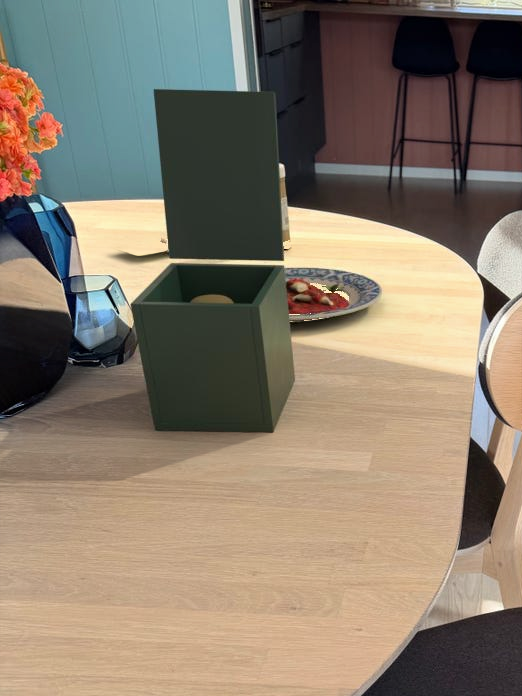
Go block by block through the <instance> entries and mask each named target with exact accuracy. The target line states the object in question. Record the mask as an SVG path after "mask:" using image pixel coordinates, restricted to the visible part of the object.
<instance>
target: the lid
mask: <svg viewBox="0 0 522 696" xmlns="http://www.w3.org/2000/svg"><path fill="white" fill-rule="evenodd" d="M276 98H277V96H276V93H275V92H274V91H257V90H256V91H254V90H253V91H251V90H250V91H249V90H248V91H247V90H212V89H211V90H208V89H174V88H173V89H170V88H169V89H168V88H153V99H154V100H153V101H154V110H155V119H156V120H155V123H156V132H157V143H158V152H159V162H160V163H159V164H160V174H161V184H162V195H163V206H164V217H165V227H166V238H167V239H168V250H169V251H168V258H169V259H170V260H206V261H207V260H208V261H210V260H214V261H257V262H258V261H259V262H261V261H262V262H263V261H264V262H285V250H284V246H283V227H282V208H281V189H280V171H279V163H280V154H279V139H278V138H279V135H278V118H277V99H276Z"/></svg>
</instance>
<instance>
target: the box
mask: <svg viewBox="0 0 522 696" xmlns="http://www.w3.org/2000/svg"><path fill="white" fill-rule="evenodd" d="M284 268H285V265H283V264H243V263H242V264H241V263H239V264H236V263H195V262H194V263H192V262H191V263H190V262H189V263H188V262H170V263H169V264H168V265H167V266H166V268H164V270H162V271H161V273H159V274H158V276H157V277H156V278H154V279H153V280H152V281H151V282H150V283H149V285H148V286H146V288H144V290H142V292H141V293H140V294H139V295H138V296H137V297H136V298H135V299H134V300H132V302H130V304H129V305H130V310H131V314H132V320H133V325H134V330H135V336H136V340H137V345H138V350H139V355H140V362H141V366H142V371H143V377H144V382H145V387H146V391H147V392H146V393H147V397H148V402H149V407H150V412H151V417H152V423H153V427H154V431H172V432H173V431H175V432H176V431H177V432H178V431H179V432H180V431H182V432H183V431H184V432H237V433H238V432H242V433H243V432H244V433H246V432H248V433H249V432H250V433H274V432H275V429H276V427H277V424H278V422H279V420H280V418H281V415H282V412H283V410H284V408H285V405H286V403H287V400H288V398H289V396H290V393H291V391H292V389H293V386H294V383H295V381H296V373H295V362H294V353H293V342H292V333H291V332H292V331H291V323H290V321H289V310H288V300H287V290H286V280H285V269H284ZM203 295H222V296H226V297H228V298H230V299H231V300H232V301H233V303H190V301H192V300H193V299H194V298H196V297H199V296H203Z"/></svg>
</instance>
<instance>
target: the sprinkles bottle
mask: <svg viewBox="0 0 522 696" xmlns="http://www.w3.org/2000/svg"><path fill="white" fill-rule="evenodd" d="M285 169H286V168H285V165H284V164H282V163H281V162H279V171H280V189H281V208H282V227H283V242H285V241H288V240H290V241H291V234H290V228H291V227H290V216H289V207H288V197H287V189H286V182H285V180H286V178H285V177H286V170H285Z"/></svg>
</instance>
